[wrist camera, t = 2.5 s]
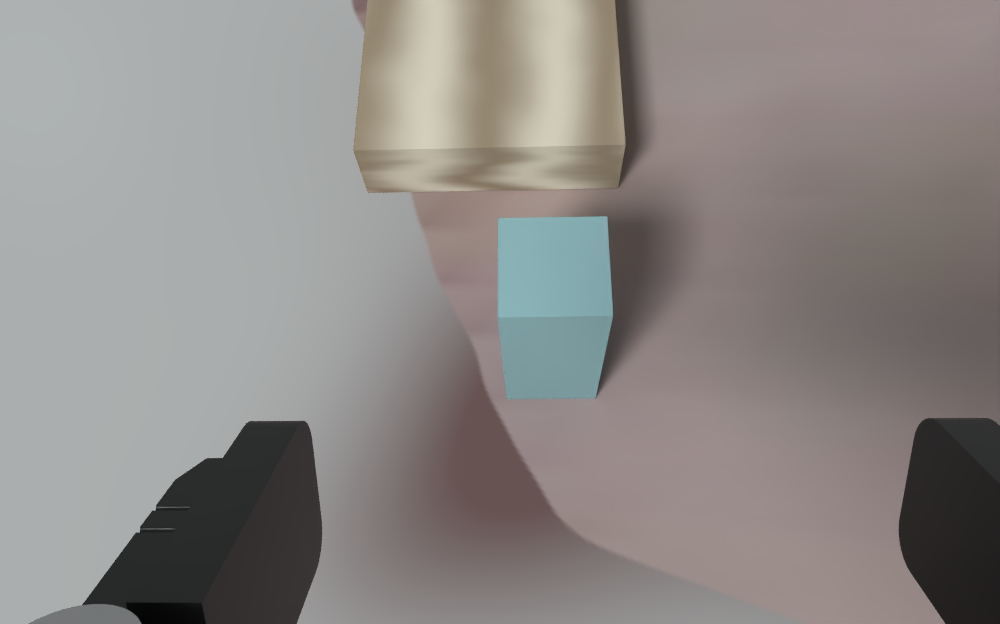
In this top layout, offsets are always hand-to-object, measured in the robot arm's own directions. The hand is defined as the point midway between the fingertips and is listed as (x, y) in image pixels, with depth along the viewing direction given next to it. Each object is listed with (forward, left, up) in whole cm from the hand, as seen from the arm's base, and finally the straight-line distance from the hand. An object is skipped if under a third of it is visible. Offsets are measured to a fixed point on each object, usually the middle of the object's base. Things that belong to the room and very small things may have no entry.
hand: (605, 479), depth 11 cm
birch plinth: (+3, -31, -27) cm, 42 cm away
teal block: (0, -12, -27) cm, 30 cm away
